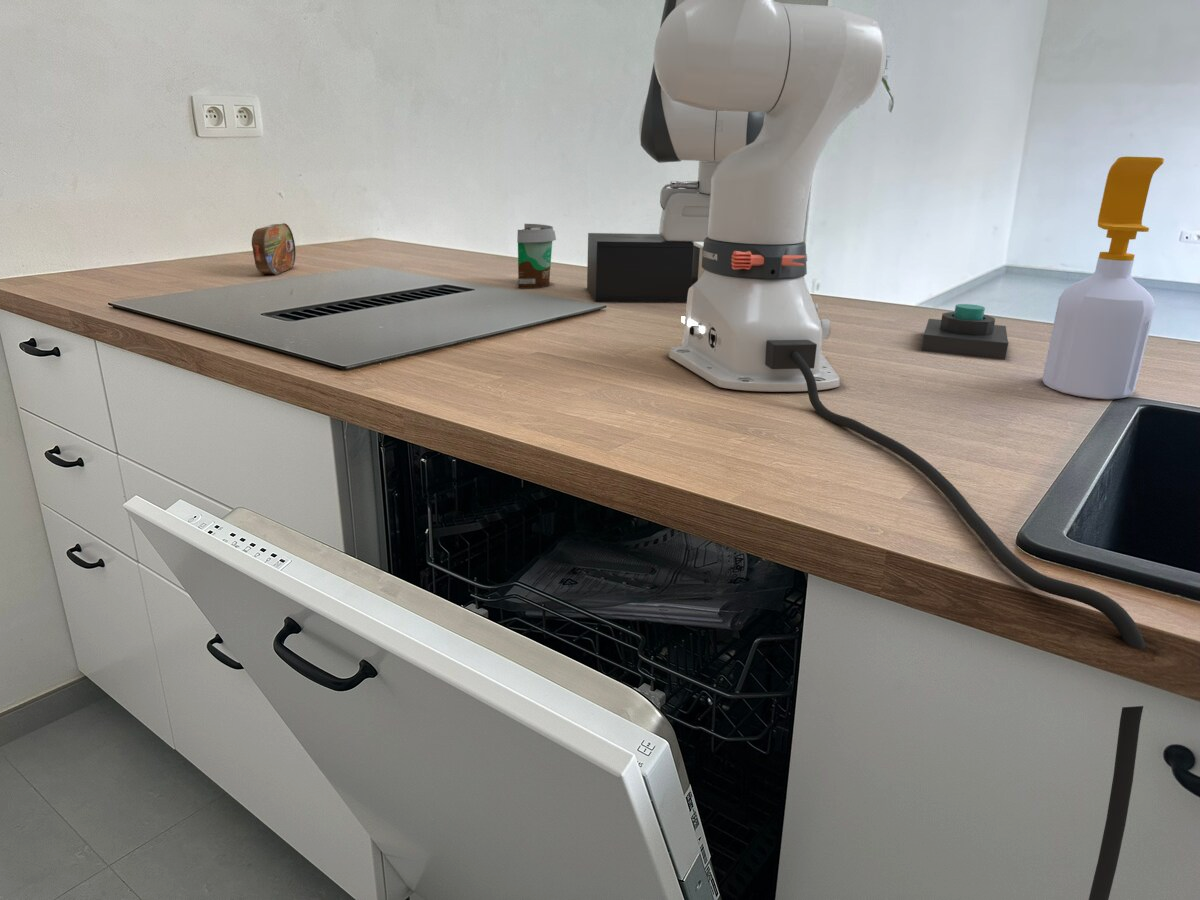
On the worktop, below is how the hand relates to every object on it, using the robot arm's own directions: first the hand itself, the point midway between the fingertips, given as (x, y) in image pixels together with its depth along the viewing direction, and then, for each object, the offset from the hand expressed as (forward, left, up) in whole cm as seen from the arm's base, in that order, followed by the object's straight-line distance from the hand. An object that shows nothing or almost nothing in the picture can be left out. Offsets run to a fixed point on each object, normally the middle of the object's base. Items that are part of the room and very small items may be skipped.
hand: (718, 270), depth 141 cm
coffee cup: (+16, +29, -5) cm, 33 cm away
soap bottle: (-54, -28, -5) cm, 62 cm away
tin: (+29, +77, -5) cm, 82 cm away
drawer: (+5, +8, -4) cm, 10 cm away
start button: (-33, -25, -1) cm, 42 cm away
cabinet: (+5, +13, -5) cm, 14 cm away
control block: (-33, -25, -5) cm, 42 cm away
